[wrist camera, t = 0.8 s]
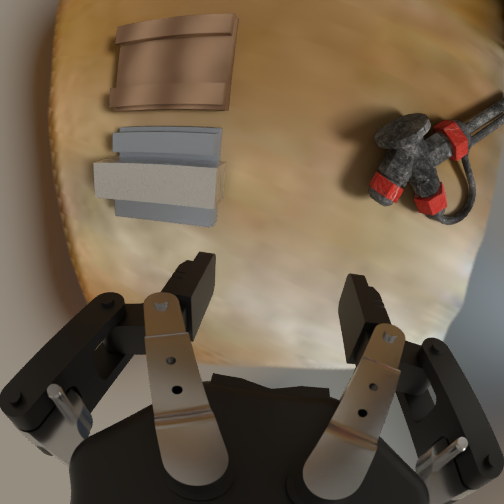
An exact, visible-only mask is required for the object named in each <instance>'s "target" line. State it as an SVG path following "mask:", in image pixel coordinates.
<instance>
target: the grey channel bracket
mask: <svg viewBox="0 0 504 504" xmlns="http://www.w3.org/2000/svg"><path fill="white" fill-rule="evenodd" d="M221 139H222V128H215V127H193V126H131V127H121V128H120V132H115V133H113V152H120V156H125V157H162V158H182V159H198V160H211V161H220V152H221ZM114 201H115V214H116V216H121V217H130V218H138V219H147V220H155V221H163V222H171V223H179V224H187V225H195V226H202V227H210V226H212V227H213V226H214V224H215V223H216V215H217V207H216V208H215V209H206V208H198V207H189V206H180V205H170V204H160V203H150V202H140V201H129V200H117V199H114Z"/></svg>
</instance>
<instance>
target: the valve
mask: <svg viewBox="0 0 504 504" xmlns="http://www.w3.org/2000/svg"><path fill="white" fill-rule="evenodd" d="M502 111H504V98H502V99H501V100H499V101H498V102H496V103H495V104H493V105H492V106H490V107H489V108H487V109H485V110H484V111H482V112H481V113H479V114H478V115H476V116H475V117H473V118H472V119H470V120H469V121H467V122H466V123H462V122H461V121H459V120H452V121H448V120H443V121H441V122H440V123H438V124H437V125H435V126H434V127H433V133H434V134H433V135H432V136H430V137H429V138H427V139H425V140H424V138H423V136H424V135H425V134H426V133H427V132H428V131H429V129H430V127H431V123H430V121H429V119H428V117H427V116H426V115H425V114H420V113H415V114H408V115H405V116H402V117H399V118H397V119H396V120H394V121H392V122H390V123H389V124H387V125H385V126H384V127H382V128H380V129H379V130H378V131H377V132H376V134H375V136H374V140H375V141H376V143H377V145H378V146H379V147H380V148H384V149H389V150H388V152H387V154H386V155H385V157H384V159H383V161H382V162H381V164H380V166H379V168H378V170H380V171H381V172H380V173H378V172H377V171H376V173H375V175H374V176H373V178H372V180H371V182H370V184H369V185H370V188H369V193H370V197H371V198H372V199H374V200H375V201H376V202H378V203H379V204H381V205H383V206H389V205H392V203H393V202H395V203H396V202H397V200H398V199H399V197H400V195H401V194H402V192H403V189H402V188H401V185H403V186H404V187H405V185H406V184H407V182H408V181H409V183H410V184H411V186H412V188H413V190H414V201H415V203H416V206H417V208H418V211H419V213H423V214H425V215H426V216H427V217H428V218H432V219H434V218H436V219H437V220H438V221H439V222H441V223H442V224H446V225H452V224H455V223H458V222H460V221H461V220H463V219H464V218H465V217H466V216H467V215H468V213H469V212H470V210H471V208H472V207H473V204H474V201H475V196H476V187H475V181H474V177H473V173H472V170H471V166H470V163H469V159H468V153H469V150H470V148H471V147H472V146H473V145H474V144H476V143H477V142H479V141H480V140H481V139H483V138H484V137H486V136H487V135H488V134H490V133H491V132H493V131H494V130H495V129H497V128H498V127H500V126H501V125H502V124H504V114H503V115H502V116H500V117H499V118H497V119H496V120H494V121H493V122H492V123H490V124H489V125H487V126H486V127H484V128H483V129H481V130H480V131H479V132H477V133H476V134H474V135H473V136H471V134H470V133H472V132H473V131H475V130H476V129H478V128H479V127H480V126H482V125H483V124H485V123H486V122H488V121H489V120H491V119H492V118H494V117H495V116H496V115H498V114H499V113H501V112H502ZM448 158H449V159H452V160H454V161H458V160H459V159H462V163H463V167H464V170H465V173H466V177H467V181H468V184H469V196H468V200H467V203H466V204H465V206H464V208H463V209H462V210H461V211H460V212H459V213H458V214H457V215H455V216H452V217H446V216H444V215H443V214H444V212H445V208H446V207H447V198H446V193H445V190H444V187H443V184H442V182H440V181H439V178H438V176H437V171H436V168H435V167H436V166H438V165H439V164H441V163H442V162H444V161H445V160H447V159H448Z"/></svg>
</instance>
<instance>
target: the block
mask: <svg viewBox="0 0 504 504" xmlns="http://www.w3.org/2000/svg"><path fill="white" fill-rule="evenodd" d="M93 165H94V185H95V198H105V199H117V200H129V201H140V202H150V203H160V204H170V205H180V206H189V207H198V208H206V209H215V208H216V207H217V205H218V204H219V203H220V202H221V200H222V199H223V196H224V182H225V168H226V162H222V161H211V160H198V159H182V158H162V157H125V156H113V157H110V158H106V159H103V160H100V161H97V162H94V163H93Z"/></svg>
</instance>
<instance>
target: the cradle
mask: <svg viewBox="0 0 504 504" xmlns="http://www.w3.org/2000/svg"><path fill="white" fill-rule="evenodd" d="M238 20H239V19H238V18H237V16H236V14H203V15H189V16H179V17H170V18H162V19H155V20H149V21H143V22H138V23H133V24H128V25H124V26H119V27H118V28H117V34H116V41H115V44H117V45H120V54H119V62H118V72H117V82H116V88H111V89H110V100H109V108H111V107H115V111H131V110H151V109H208V110H229V100H230V90H231V80H232V71H233V62H234V53H235V44H236V36H237V28H238Z"/></svg>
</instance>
